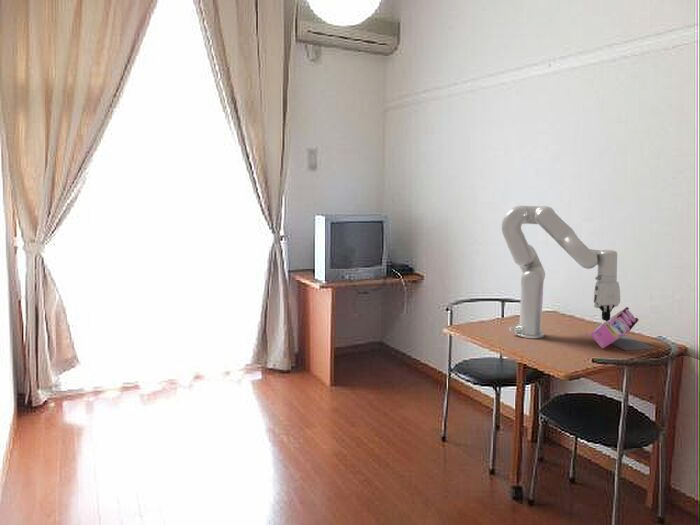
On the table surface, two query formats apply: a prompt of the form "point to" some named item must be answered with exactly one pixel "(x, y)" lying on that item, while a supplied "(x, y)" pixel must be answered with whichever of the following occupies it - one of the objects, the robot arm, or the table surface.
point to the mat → (630, 344)
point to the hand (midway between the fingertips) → (605, 320)
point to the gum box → (614, 328)
